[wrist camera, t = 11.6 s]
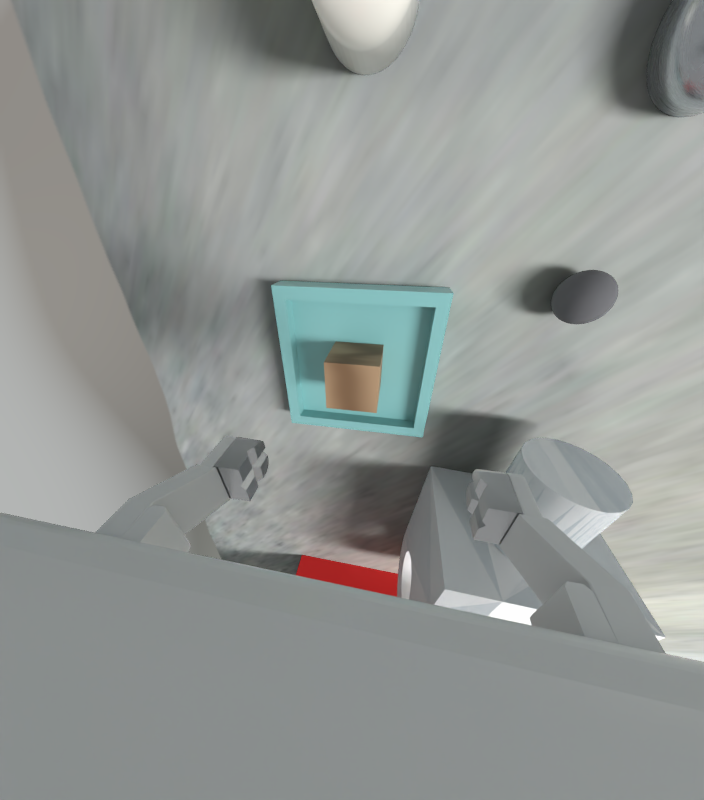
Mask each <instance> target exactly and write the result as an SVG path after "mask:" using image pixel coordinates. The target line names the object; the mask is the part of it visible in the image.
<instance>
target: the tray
mask: <svg viewBox="0 0 704 800" xmlns="http://www.w3.org/2000/svg"><path fill="white" fill-rule="evenodd" d="M271 289H272V295H273V302H274V308H275V315H276V321H277V328H278V335H279V341H280V348H281V354H282V361H283V368H284V374H285V381H286V387H287V394H288V400H289V407H290V414H291V420H292V423H300V424H309V425H317V426H326V427H335V428H344V429H353V430H362V431H371V432H380V433H389V434H397V435H406V436H415V437H423V433H424V429H425V424H426V419H427V415H428V410H429V405H430V401H431V396H432V391H433V386H434V382H435V377H436V372H437V368H438V363H439V358H440V354H441V349H442V344H443V340H444V335H445V330H446V326H447V321H448V316H449V312H450V307H451V302H452V298H453V292H452V291H451V289H450V288H448V287H424V286H400V285H376V284H352V283H328V282H304V281H279V282H277V283H275V284H273V285H271ZM336 341H337V342H352V343H366V344H380V345H384V347H383V360H382V372H381V384H380V393H379V400H378V407H377V413H370V412H361V411H351V410H341V409H332V408H326V393H325V375H324V361H325V359H326V357H327V356H328V354H329V352H330V350H331V349H332V347H333V345H334V343H335V342H336Z"/></svg>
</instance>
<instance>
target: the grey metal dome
mask: <svg viewBox="0 0 704 800" xmlns="http://www.w3.org/2000/svg"><path fill="white" fill-rule="evenodd" d="M647 87H648V92H649V95H650V98H651V100H652V102H653V103H654V104H655V106H656V107H657V108H658V109H659V110H660V111H662V112H664V113H666V114H667V115H671V116H676V117H687V116H694V115H698V114H702V113H704V0H673V1H672V2H671V4H670V6H669V8H668V9H667V11H666V13H665V15H664V17H663V19H662V21H661V23H660V25H659V27H658V30H657V32H656V35H655V38H654V40H653V43H652V47H651V50H650V54H649V59H648V64H647Z"/></svg>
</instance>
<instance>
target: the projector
mask: <svg viewBox="0 0 704 800" xmlns="http://www.w3.org/2000/svg"><path fill="white" fill-rule="evenodd" d="M506 473H513V474H521V475H523V476H524V477H525V479H526V481H527V484H528V486H529V488H530V490H531V493H532V495H533V497H534V499H535V502H536V504H537V506H538V508H539V511H540V513H541V515H542V517H543V518H548V519H549V520H550V521H551V522H552V523H553V524H554V525H556V526H557V527H558V528H559V529H560V530H561V531H562V532H563V533H565V534H566V535H567V536H568V537H569V538H570V539H571V540H572V541H573V542H575V543H576V544H577V545H578V546H579V547H580V548H581V549H582V550H584V551H585V552H586V553H587V554H588V555H589V556H590V557H591V558H592V559H594V560H595V561H596V562H597V563H598V564H599V565H600V566H601V567H603V568H604V569H605V570H606V571H607V572H608V573H609V574H610V575H611V576H613V577H614V578H615V579H616V580H617V581H618V582H619V583H620V584H622V585H623V586H624V587H625V588H626V589H627V590H628V591H629V592H630V593H631V595H632V597H633V598H634V600H635V602H636V604H637V605H638V607H639V609H640V610H641V612H642V614H643V616H644V617H645V619H646V621H647V622H648V624H649V626H650V628H651V629H652V631H653V633H654V634H655V636H656V638H657V640H661V639H663V638H666V637H665V635H664V634H663V632H662V631H661V629H660V628H659V626H658V624H657V623H656V621H655V620H654V618H653V616H652V615H651V613H650V612H649V610H648V609H647V607H646V605H645V604H644V602H643V601H642V599H641V597H640V596H639V594H638V593H637V591H636V590H635V588H634V586H633V585H632V583H631V582H630V580H629V578H628V577H627V575H626V574H625V572H624V571H623V569H622V567H621V566H620V564H619V563H618V561H617V559H616V558H615V556H614V555H613V553H612V552H611V550H610V548H609V547H608V545H607V544H606V542H605V540H604V539H603V537H602V536H601V534H600V533H601V532H602V531H603V530H605V529H606V528H607V527H608V526H609V525H610V524H612V523H613V522H614V521H615V520H616V519H618V518H619V517H620V516H621V515H622V514H623V513H625V512H626V511H627V510H628V509H629V508H630V506H631V505H632V503H633V500H632V493H631V491H630V489H629V487H628V485H627V484H626V482H625V481H624V480H623V479H622V478H621V476H620V475H619V474H618V473H617V472H616V471H614V470H613V469H612V468H611V467H610V466H609V465H607V464H606V463H605V462H603V461H602V460H600V459H599V458H597V457H596V456H594V455H592V454H591V453H589V452H587V451H585V450H583V449H581V448H579V447H577V446H574V445H572V444H569V443H566V442H563V441H560V440H556V439H550V438H534V439H530V440H528V441H527V442H526V443H524V444H523V446H522V448H521V449H520V451H519V452H518V454H517V455H516V457H515V459H514V460H513V462H512V463H511V465H510V466H509V468H508V470H507V471H506ZM471 482H473V479H472V473H466V472H461V471H455V470H450V469H444V468H439V467H433V466H431V467H430V470H429V472H428V475H427V477H426V480H425V483H424V485H423V488H422V490H421V493H420V496H419V498H418V501H417V503H416V506H415V509H414V511H413V514H412V516H411V519H410V522H409V524H408V527H407V529H406V532H405V535H404V538H403V543H402V547H401V554H400V561H399V570H398V583H397V597H400V598H405V599H410V600H414V601H419V602H424V603H428V604H433V605H438V606H443V607H447V608H452V609H457V610H461V611H466V612H471V613H475V614H480V615H485V616H490V617H494V618H499V619H504V620H508V621H513V622H518V623H523V624H527V625H531V621H530V617H531V615H532V614H533V613H534V612H535V611H536V610H537V609H538V608H540V607H541V606H542V605H543V604H542V603H541V601H540V600H539V599H538V597H537V596H536V595H535V593H534V592H533V591H532V589H531V588H530V587H529V585H528V584H527V583H526V581H525V580H524V579H523V577H522V576H521V574H520V573H519V572H518V570H517V569H516V568H515V566H514V565H513V564H512V562H511V561H510V560H509V558H508V557H507V556H506V554H505V553H504V552H503V550H502V549H501V548H500V545H498V544H493V543H488V542H483V541H478V540H473V536H472V531H471V526H470V519H471V517H472V514H471V513H470V512H469V511H468V510H467V504H466V491H467V487H468V484H469V483H471Z"/></svg>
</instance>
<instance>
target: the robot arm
mask: <svg viewBox="0 0 704 800" xmlns="http://www.w3.org/2000/svg"><path fill="white" fill-rule="evenodd" d="M264 449H265V445H264V442H263V441H260V440H254V439H248V438H242V437H234V436H226V437H224V438H223V439H222V440H221V441H220V442H219V443H218V445H217V446H216V447H215V448H214V449H213V450H212V451H211V453H210V454H209V455H208V456H207V457H206V458H205V460H204V461H203V462H202V463H201V464H200V465H198V464H196V465H194V466H192V467H190V468H188V469H186V470H185V471H183V472H181V473H179V474H177V475H175V476H173V477H171V478H169V479H167V480H165V481H163V482H161V483H159V484H157V485H155V486H153V487H151V488H149V489H147V490H146V491H143V492H142V493H140V494H138V495H136V496H134V497H132V498H130V499H129V500H128V501H127V502H125V504H124V505H123V506H122V507H120V509H119V510H118V511H116V512H115V513H114V514H113V515H112V516H111V517H110V518H109V519H108V520H107V521H106V522H105V523H104V524H103V525H102V526H101V527H100V529H98V530H97V531H96V532H95V533H94V532H89V531H85V530H80V529H75V528H70V527H66V526H61V525H56V524H51V523H47V522H42V521H37V520H33V519H28V518H23V517H19V516H14V515H10V514H4V513H0V800H704V662H701V661H697V660H692V659H687V658H683V657H678V656H673V655H668V654H666V653H665V652H664V650H663V648H662V646H661V645H660V643H659V641H658V640H657V638H656V636H655V634H654V633H653V631H652V629H651V628H650V626H649V624H648V622H647V621H646V619H645V617H644V616H643V614H642V612H641V610H640V609H639V607H638V605H637V604H636V602H635V600H634V598H633V597H632V595H631V593H630V592H629V591H628V590H627V589H626V588H625V587H624V586H623V585H622V584H620V583H619V582H618V581H617V580H616V579H615V578H614V577H613V576H611V575H610V574H609V573H608V572H607V571H606V570H605V569H604V568H603V567H601V566H600V565H599V564H598V563H597V562H596V561H595V560H594V559H592V558H591V557H590V556H589V555H588V554H587V553H586V552H585V551H584V550H582V549H581V548H580V547H579V546H578V545H577V544H576V543H575V542H573V541H572V540H571V539H570V538H569V537H568V536H567V535H566V534H565V533H563V532H562V531H561V530H560V529H559V528H558V527H557V526H556V525H554V524H553V523H552V522H551V521H550V520H549V519H548V518H543V517H542V515H541V513H540V511H539V508H538V506H537V504H536V502H535V499H534V497H533V495H532V493H531V490H530V488H529V486H528V484H527V481H526V479H525V477H524V476H523V475H521V474H513V473H505V472H497V471H489V470H481V469H475V470H474V472H473V474H472V479H473V482H471V483H469V484H468V487H467V491H466V504H467V510H468V511H469V512H470V513H471V514H472V517H471V519H470V526H471V531H472V536H473V540H478V541H483V542H488V543H493V544H498V545H500V548H501V549H502V550H503V552H504V553H505V554H506V556H507V557H508V558H509V560H510V561H511V562H512V564H513V565H514V566H515V568H516V569H517V570H518V572H519V573H520V574H521V576H522V577H523V579H524V580H525V581H526V583H527V584H528V585H529V587H530V588H531V589H532V591H533V592H534V593H535V595H536V596H537V597H538V599H539V600H540V601H541V603H542V604H543V605H542V606H541V607H540V608H538V609H537V610H536V611H535V612H534V613H533V614H532V615H531V617H530V621H531V625H527V624H523V623H518V622H513V621H508V620H504V619H499V618H494V617H490V616H485V615H480V614H475V613H471V612H466V611H461V610H457V609H452V608H447V607H443V606H438V605H433V604H428V603H424V602H419V601H414V600H410V599H405V598H400V597H396V596H391V595H386V594H381V593H377V592H372V591H367V590H363V589H358V588H353V587H349V586H344V585H339V584H334V583H330V582H325V581H320V580H316V579H311V578H306V577H302V576H297V575H292V574H287V573H283V572H278V571H273V570H269V569H264V568H259V567H254V566H250V565H245V564H240V563H236V562H231V561H226V560H221V559H217V558H212V557H207V556H203V555H198V554H193V553H188V551H189V550H190V548H191V544H190V542H189V541H188V539H187V538H186V536H185V534H186V533H187V532H189V531H190V530H191V529H193V528H194V527H195V526H196V525H198V524H199V523H200V522H202V521H203V520H204V519H205V518H207V517H208V516H209V515H211V514H212V513H213V512H215V511H216V510H217V509H218V508H220V507H221V506H222V505H224V504H225V503H226V502H227V501H229V500H230V498H231V499H238V500H245V501H250V500H251V499H252V497H253V495H254V493H255V492H256V490H257V488H258V484H257V482H258V481H259V480H261V479H262V478H264V476H265V474H266V472H267V468H268V456H267V454H266V453H265V452H263V450H264Z"/></svg>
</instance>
